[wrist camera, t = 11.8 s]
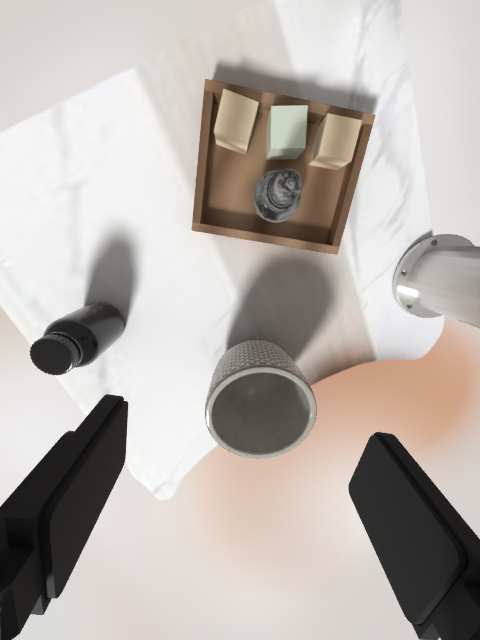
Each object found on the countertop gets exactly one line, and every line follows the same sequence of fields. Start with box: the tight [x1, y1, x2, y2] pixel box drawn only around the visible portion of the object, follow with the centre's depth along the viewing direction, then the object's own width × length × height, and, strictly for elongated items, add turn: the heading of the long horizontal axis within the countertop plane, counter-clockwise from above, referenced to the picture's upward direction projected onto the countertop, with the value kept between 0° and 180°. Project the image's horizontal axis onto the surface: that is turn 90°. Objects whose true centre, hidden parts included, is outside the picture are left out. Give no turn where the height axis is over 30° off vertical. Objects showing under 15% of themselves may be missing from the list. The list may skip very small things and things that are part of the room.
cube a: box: [309, 113, 362, 170], centre depth 29 cm, size 4×4×4 cm
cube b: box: [266, 105, 308, 160], centre depth 29 cm, size 4×4×4 cm
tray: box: [192, 79, 375, 254], centre depth 31 cm, size 20×16×3 cm
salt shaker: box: [253, 169, 303, 222], centre depth 27 cm, size 6×6×12 cm
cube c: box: [214, 89, 259, 155], centre depth 29 cm, size 4×4×4 cm
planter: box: [205, 340, 317, 458], centre depth 36 cm, size 14×14×13 cm
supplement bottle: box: [30, 303, 124, 375], centre depth 33 cm, size 7×7×12 cm
